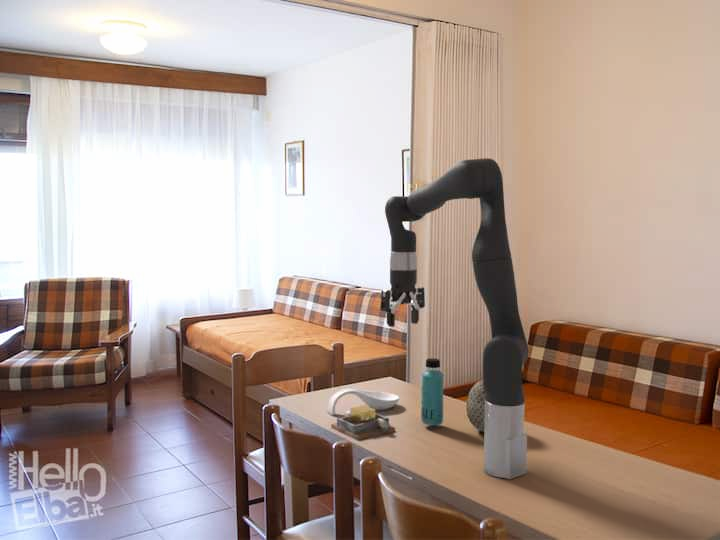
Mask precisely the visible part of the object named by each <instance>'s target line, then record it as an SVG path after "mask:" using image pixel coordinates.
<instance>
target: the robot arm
mask: <svg viewBox="0 0 720 540" xmlns="http://www.w3.org/2000/svg"><path fill="white" fill-rule="evenodd" d="M502 174H503V173H502V171H501V168H500V166H499V164H498V162H497V161H495V160H494V159H492V158H489V157H488V158H487V157H486V158H474V159H473V158H472V159H464V160H462V161H460V162H458V163H456V164H455V165H453V167H450V168H449V170H447V171H446V172H445V173H443V174H442V175H441V176H439V177H438V178H437V179H435V180H434V181H432V182H430V183H427V184H425V185H423V186H421V187H419V188H416V189H415V190H413V191H411V192H410V194H408V195H407V196H405V195H404V196H402V195H401V196H399V195H397V196H396V195H395V196H390V197H389V198H388V199H387V201H386V204H385V207H384V214H385V219H386V222H387V226H388V230H389V235H390V238H391V239H390V240H391V241H390V242H391V243H390V259H389V284H390V287H391V288H390V289H382V290H381V295H380V296H381V297H380V311H381V312H384V313H386V324H387V327H390V328H393V327H395V323H396V320H395V319H396V317H395V316H396V314H395V312H396V309H397V308H399V307H400V305H405V304H407V305H409V307H410V308H411V310H410V322H411V324H414V325H417V324H418V323H419V320H420V311H421V309H424V308H425V306H426V303H425V302H426V301H425V297H426V296H425V287H424V286H416V285H417V282H418V276H417V274H418V259H417V235H416V232H415V231H413V230H409V229H406V228H405V226H404V222H405V223H406V222H410V223H411V222H412V223H413V222H417V221H420V220H421V219H422V218H424V216H426V215H427V214H430V213H431V212H434V211H437V210H438V209H440V208H442V207H443V206H444V205H445V204H446V202H449V201H453V200H461V199H469V200H474V199H479V204H480V205H479V206H480V213H481V214H480V215H481V216H480V217H481V219H480V220H481V221H480V224H479V228H478V232H477V234H476V236H475V237H476V238H475V240H474V243H473V246H472V249H471V250H472V251H471V262H472V268H473V275H474V278H475V283H476V286H477V289H478V291H479V294H480V296H481V298H482V300H483V302H484V306H486V310H487V313H488V316H489V322H490V331H491V339H490V340H489V341H488V342H487V343H486V344H485V346H484V349H483V353H482V380H483V388H484V392H485V424H484V432H483V433H484V434H483V435H484V436H483V471H484V472H485V473H486V474H488V475H489V476H493V477H497V478H502V479H507V480H513V479H515V478H517V477H521V476H523V475H526V474H527V460H528V459H527V454H528V451H527V450H528V436H527V434H525V433H524V432H525V404H526V403H525V399H526V397H525V394H526V393H525V390H524V388H523V366H524V365H525V364H526V361H527V360H528V357H529V346H528V342H527V338H526V335H525V330H524V327H523V323H522V319H521V317H520V312H519V304H518V295H517V293H518V292H517V286H516V280H515V279H516V278H515V269H514V265H513V258H512V253H511V246H510V243H509V236H508V229H507V222H506V212H505V211H506V209H505V195H504V193H505V192H504V182H503V180H504V179H503V175H502Z"/></svg>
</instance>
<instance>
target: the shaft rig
mask: <svg viewBox="0 0 720 540" xmlns="http://www.w3.org/2000/svg"><path fill="white" fill-rule="evenodd" d="M343 415H344V416H343V417H337V418H336V422H335V423H331V424H330V427H331V429H333V430H336V431H338V432H340V433H341V434H344V435H347V436H348V437H350V438H352V439H355V440H356V441H361V440H364V439H369V438H372V437H376V436H381V435H385V434H389V433H394V432H395V431H396V428H395V427H394V426H392V425H391V424H390V417H387V416H385V415H382V414H380V413H377V412H375V420H374V421H370V422H366V423H361V424H357V425H354V424H351V410H346V411H345V412H344V414H343Z"/></svg>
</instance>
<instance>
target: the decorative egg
mask: <svg viewBox="0 0 720 540" xmlns="http://www.w3.org/2000/svg"><path fill="white" fill-rule="evenodd" d="M465 409H466V415H467V418H468V420H469V422H470V423H471V425H472V426H473V427H474V428H475V429H477V430H478V431H480V432H482V433H484V424H485V392H484V388H483V379H481V380H479V381H478V382H476V383H475V384H474V385H473V386H472V388H471V389H470V391H469V393H468V396H467V399H466V406H465Z"/></svg>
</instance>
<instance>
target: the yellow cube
mask: <svg viewBox="0 0 720 540" xmlns="http://www.w3.org/2000/svg"><path fill="white" fill-rule="evenodd" d="M350 411H351V424H354V425H357V424H361V423H366V422H370V421H374V420H375V413H376V410H375V409H373V408H371V407H369V406H367V405H366V404H364V405H360V406H355V407H351V408H350Z"/></svg>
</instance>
